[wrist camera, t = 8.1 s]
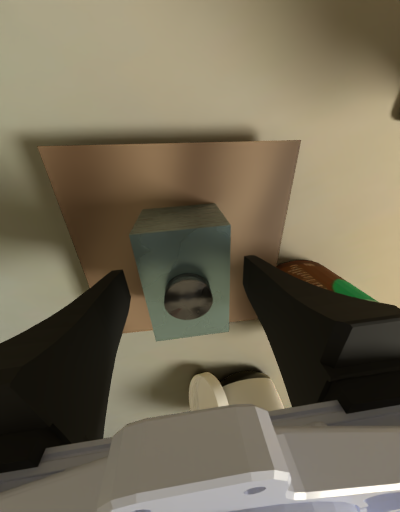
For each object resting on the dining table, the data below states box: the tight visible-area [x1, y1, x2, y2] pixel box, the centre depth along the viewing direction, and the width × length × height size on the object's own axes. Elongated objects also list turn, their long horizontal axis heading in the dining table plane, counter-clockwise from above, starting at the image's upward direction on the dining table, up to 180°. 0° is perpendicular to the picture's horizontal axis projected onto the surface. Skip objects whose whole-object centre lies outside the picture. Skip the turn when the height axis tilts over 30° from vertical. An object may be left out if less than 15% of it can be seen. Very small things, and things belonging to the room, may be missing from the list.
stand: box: [37, 140, 301, 333], centre depth 15 cm, size 14×14×2 cm
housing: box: [129, 203, 231, 341], centre depth 12 cm, size 7×4×5 cm, turn 4°
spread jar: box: [189, 371, 285, 411], centre depth 22 cm, size 12×11×12 cm
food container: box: [276, 260, 378, 302], centre depth 16 cm, size 12×6×10 cm, turn 29°
